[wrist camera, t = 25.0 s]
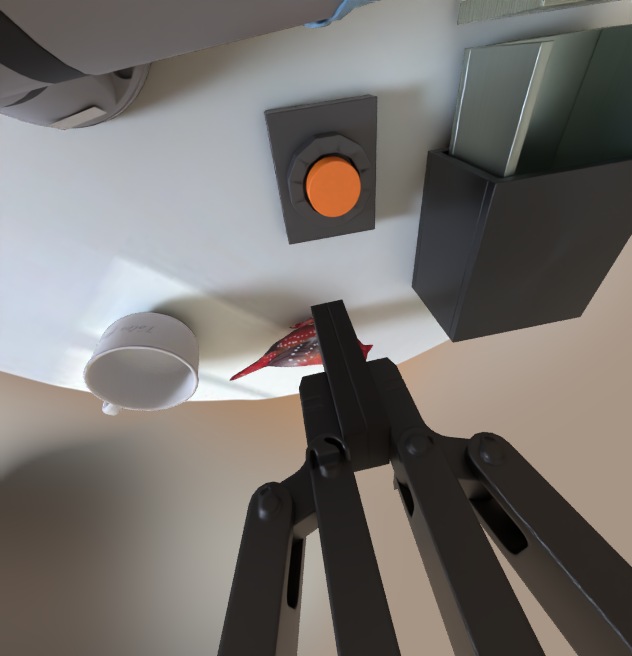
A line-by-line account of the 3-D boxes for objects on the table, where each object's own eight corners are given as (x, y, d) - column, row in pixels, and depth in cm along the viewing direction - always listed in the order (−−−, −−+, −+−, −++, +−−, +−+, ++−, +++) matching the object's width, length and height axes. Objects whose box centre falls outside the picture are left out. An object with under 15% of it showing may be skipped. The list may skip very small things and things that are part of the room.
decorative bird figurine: (357, 312, 41) (381, 367, 33) (236, 352, 42) (233, 413, 35) (353, 296, 39) (377, 350, 32) (226, 338, 40) (221, 400, 33)
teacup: (154, 283, 33) (134, 330, 27) (223, 339, 40) (218, 386, 34) (71, 341, 37) (36, 395, 31) (148, 384, 43) (131, 435, 37)
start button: (302, 160, 25) (305, 165, 23) (354, 151, 25) (360, 156, 23) (309, 213, 28) (312, 221, 26) (356, 205, 28) (361, 212, 26)
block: (264, 111, 25) (265, 117, 22) (369, 94, 25) (385, 98, 22) (287, 235, 32) (291, 253, 29) (368, 221, 33) (380, 236, 30)
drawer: (480, -146, 18) (616, -271, 11) (683, -170, 19) (924, -302, 12) (431, 204, 32) (479, 241, 25) (548, 183, 32) (625, 213, 26)
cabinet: (427, 151, 29) (495, 183, 21) (567, 127, 30) (684, 150, 22) (411, 286, 40) (452, 342, 32) (514, 267, 40) (580, 317, 32)
